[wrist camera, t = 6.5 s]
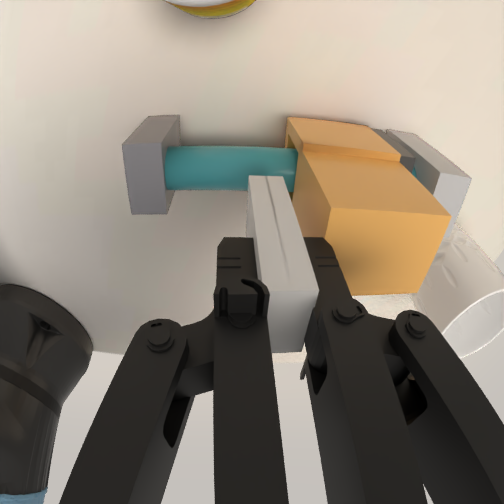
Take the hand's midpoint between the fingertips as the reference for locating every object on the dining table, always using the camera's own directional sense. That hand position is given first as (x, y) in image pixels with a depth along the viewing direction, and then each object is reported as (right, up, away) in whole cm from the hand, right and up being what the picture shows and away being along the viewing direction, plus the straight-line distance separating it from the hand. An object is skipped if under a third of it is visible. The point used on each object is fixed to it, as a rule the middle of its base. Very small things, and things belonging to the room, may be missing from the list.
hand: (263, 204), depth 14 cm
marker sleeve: (+4, +4, +5) cm, 8 cm away
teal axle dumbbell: (+2, +5, +6) cm, 8 cm away
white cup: (+15, -1, +12) cm, 20 cm away
